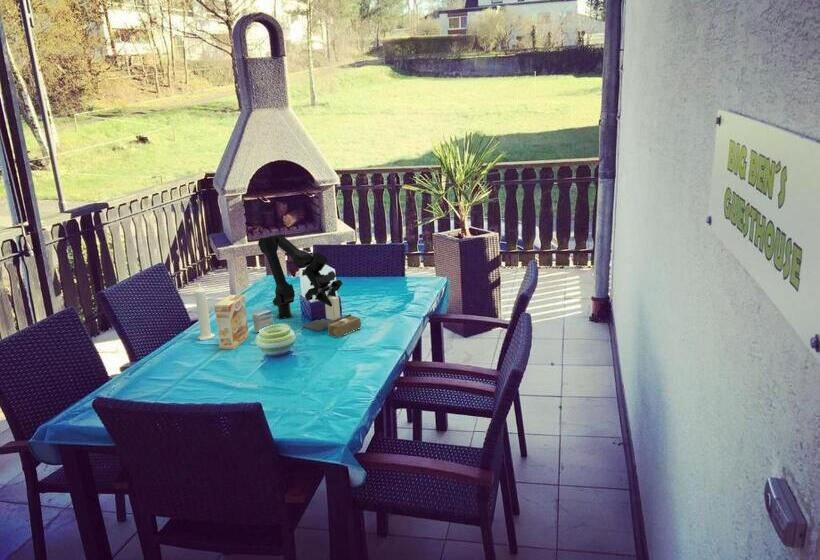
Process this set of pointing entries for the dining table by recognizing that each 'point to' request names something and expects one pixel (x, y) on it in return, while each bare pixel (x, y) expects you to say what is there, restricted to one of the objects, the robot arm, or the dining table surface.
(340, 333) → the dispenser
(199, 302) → the candle
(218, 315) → the coffeecake box
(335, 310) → the cream pillar
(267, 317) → the medicine box
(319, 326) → the mat
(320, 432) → the dining table surface
